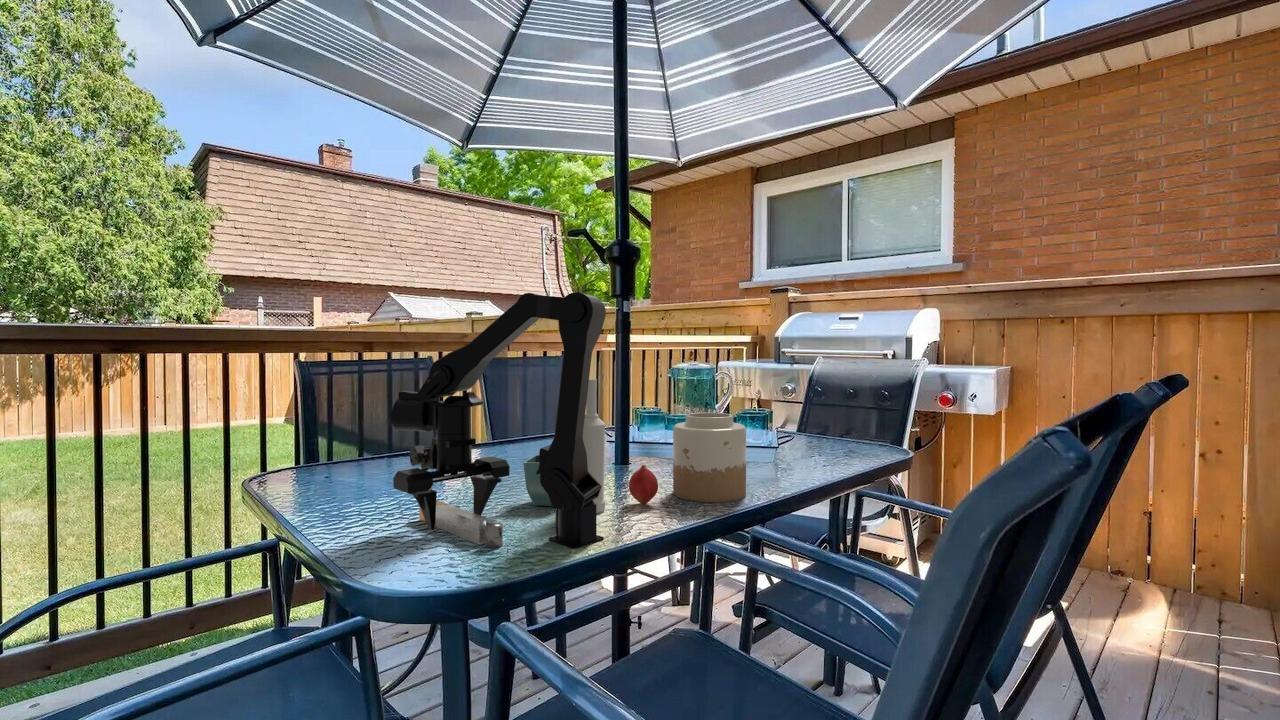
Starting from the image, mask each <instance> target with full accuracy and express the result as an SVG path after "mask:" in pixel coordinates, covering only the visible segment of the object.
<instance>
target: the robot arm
mask: <svg viewBox="0 0 1280 720" xmlns="http://www.w3.org/2000/svg"><path fill="white" fill-rule="evenodd" d="M606 315H607V309H606V306H605V304H604V303H603V302H602V300H601V299H600V298H598V296H595V295H591V294H587V293H582V292H576V291H575V292H571V293H568V294H567V295H565V296H564V297H561V296H552V295H542V294H537V293H532V292H526V293H524V294H522V295H520V297H518V299H517V301H516V302H515V303H513V304H512V306H510V307H508V309H506V310H505V311H504V312H503V313H502V314H501V315H500V316H499V317H498V318H496V320H494V321H493V322H491V323H490V324H489V325H488V326H487V327H486V328H485V329H484V330H483V331H481V332H480V333H479V334H478V335H477V336H475V337H474V338H473V339H472V340H471V341H469V343H467V344H465V345H464V346H462V347H460V348H457V349H455V350H453V351H450V352H449V353H447V354H445V355H443V356H441V357H440V358H438V359H437V360H435V361H434V362H433V363H432V364H431V365H430V367H429V374H428V376H427V378H426V379H425V381H424V383H423V384H422V386H421V387H420V389H419V390H418V392H417V391H413V390H403V391H398V399H396V401H395V402H394V403H393V405H392V408H391V410H390V422H391V425H392V426H393V428H394V429H395V430H398V431H404V432H405V431H408V432H409V431H410V432H411V431H412V432H431V431H432V430H434V429H435V437H432V438H431V446H430V447H429V448H425V446H424V445H423V444H422V445H421V444H420V445H413V446H411V447H410V448H409V461H410V465H411V466H412V467H413V468H409V469H401V470H398V471H396V473H395V474H394V476H393V480H392V481H393V489H395V490H398V491H400V492H403V493H406V494H409V495H412V496H413V498H415V501H416V503H417V504H418V506H420V508H421V511H422V513H423V516H424V518H425V521H426V522H425V524H426V526H427V528H428V530H429V531H434V530H435V518H436V500H437V493H438V491H436V490H434V489H432V486H434V484H435V483H439V482H440V483H441V482H445V481H446V482H447V481H451V480H457V479H463V478H470V481H471V483H472V486H473V505H472V506H473V508H472V509H473V511H472V512H473V513H475V514H478V515H480V516H483V512H484V510H485V507H486V506H487V503H488V501H489V499H490V497H491V495H492V493H493V492H494V490H495V488H496V487H497V485H498V483H502V478H505V477H509V476H510V473H511V472H510V464H509V462H508V461H507V460H506V459H505V458H501V457H496V456H489V457H488V456H487V457H481V458H475V459H474V461H472V460H473V458H472V446H474V445H476V443H477V442H476V440H477V438H473V437H472V408H473V407H477V406H483V405H484V401H483V400H482V399H481V398H480V397H479V396H478V395H476V393H475V391H473V390H472V391H468V390H470V389H471V388H473V387H474V385H475V384H476V383H478V381H479V380H480V379H481V378H482V376H483V375H484V373H485V371H486V368H487V367H488V364H489V363H490V362H491V361H492V360H493V359H495V357H496V356H498V355H499V354H500V353H502V352H503V350H505V349H506V348H507V347H509V345H510V344H512V343H513V342H514V341H515V340H516V339H517V338H518V337H520V336H521V335H522V334H523V333H524V332H525V331H527V330H528V329H530V327H532V326H533V325H534V324H535V323H536V322H538V320H540V319H546V320H553V321H557V322H558V333H559V336H560V339H561V342H562V346H563V347H562V349H563V354H562V355H563V356H562V364H561V372H560V383H559V392H558V399H557V400H558V402H557V408H556V409H557V410H556V418H555V426H554V428H555V429H554V436H553V439H552V441H551V443H550V444H548V445H546V446H544V447H540V449H539V451H538V455H539V460H540V463H539V468H538V470H537V472H536V474H540V484H541V487H543V488H544V490H545V491H546V492H547V493H548V496H549V498H550V501H551V504H552V506H551V508H552V509H553V510H555V535H554V536H550V537H549V538H548V541H549V542H551V543H555V544H557V545H561V546H563V547H567V548H568V549H572V550H577V549H579V548H583V547H585V546H589V545H592V544H595V543H600V542H602V541H604V540H605V538H604V536H601V535H599V534H597V514H596V504H594V501H592V500H594V499H595V498H597V497H598V496H599V493H600V490H601V485H600V484H599V483H598V482H597V481H596V479H595V478H594V477H593V476H592V475H591V474H590V473H589V472H588V466H587V453H586V449H585V445H584V442H583V429H584V420H585V415H586V402H587V393H588V384H589V379H590V375H591V364H592V356H593V351H594V348H595V347H596V345H597V342H598V340H599V338H600V336H601V333H602V331H603V327H604V323H605V320H606V317H607V316H606ZM464 391H465V393H464V394H463V395H455V394H457V392H464ZM445 397H446V398H445ZM440 398H445V399H444V400H440ZM416 466H420V468H419V467H416ZM414 467H416V468H414ZM429 470H433V471H429Z"/></svg>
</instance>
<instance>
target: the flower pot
mask: <svg viewBox="0 0 1280 720" xmlns="http://www.w3.org/2000/svg"><path fill="white" fill-rule="evenodd" d="M539 463H540V460H539V454H534V455H533V456H531V457H530V458H528V459H526V460H525V461H524V462H523V471H524V481H525V488H526V491H527V493H528V496H529V497H530V500H531V502H532V503H533V505H535V506H539V507H540V506H543V507H544V506H546V507H548V506H549V507H552V504H551V501H550V498H549V496H548V493H547V492H546V491H545V490H544V488H543V487H541V484H540V474H536V472H537V470H538V468H539Z"/></svg>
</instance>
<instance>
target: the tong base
mask: <svg viewBox="0 0 1280 720" xmlns="http://www.w3.org/2000/svg"><path fill="white" fill-rule="evenodd" d="M436 503H439V504H442V505H445V506H447V507H450V508H453V509H456V510H459V511H461V512H464V513H467V514H470V515H472V516H475V517H478V518H481V519H484V520H486V525H485V538H486V543H485V548H486V549H488V550H491V549H492V550H493V549H494V550H495V549H499V548H502V547H503V545H504V541H503V539H504V538H503V537H504V536H503V535H504V533H503V531H504V529H503V527H504V526H503V524H504V523H502V522H499V521H498V522H497V521H495V520H494V519H492V518H489V517H487V516H483V515H481V516H480V515H478V514H475V513H474V512H473V511H468V510H465V509H464V508H460V507H458V506H454V505H451V504H449V503H445V502H443V501H440V500H439V499H436Z"/></svg>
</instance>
